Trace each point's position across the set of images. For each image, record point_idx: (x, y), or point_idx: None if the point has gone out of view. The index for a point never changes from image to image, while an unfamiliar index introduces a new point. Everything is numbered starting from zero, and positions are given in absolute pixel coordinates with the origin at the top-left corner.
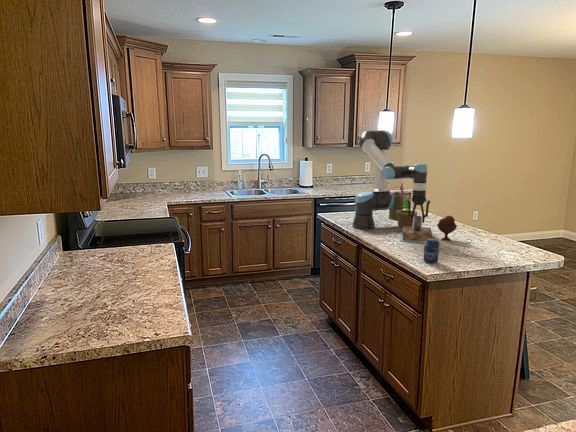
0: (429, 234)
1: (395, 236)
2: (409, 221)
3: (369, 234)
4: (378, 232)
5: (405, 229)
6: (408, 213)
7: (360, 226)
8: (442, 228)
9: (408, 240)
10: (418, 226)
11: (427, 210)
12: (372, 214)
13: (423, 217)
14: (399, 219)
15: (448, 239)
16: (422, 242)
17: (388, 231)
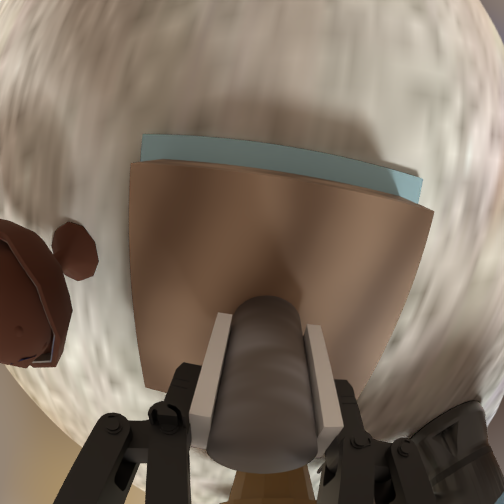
0: (160, 163)
1: (402, 318)
2: (262, 479)
3: (494, 331)
4: (443, 377)
5: (372, 333)
6: (421, 468)
7: (478, 407)
8: (29, 239)
9: (359, 182)
10: (258, 324)
11: (71, 500)
12: (435, 478)
13: (170, 411)
14: (309, 488)
15: (58, 234)
16: (243, 140)
17: (389, 404)
